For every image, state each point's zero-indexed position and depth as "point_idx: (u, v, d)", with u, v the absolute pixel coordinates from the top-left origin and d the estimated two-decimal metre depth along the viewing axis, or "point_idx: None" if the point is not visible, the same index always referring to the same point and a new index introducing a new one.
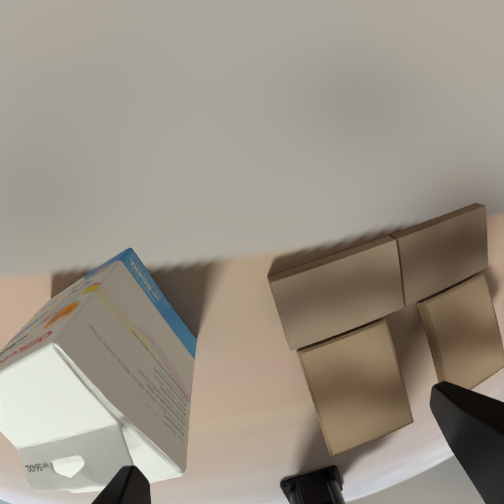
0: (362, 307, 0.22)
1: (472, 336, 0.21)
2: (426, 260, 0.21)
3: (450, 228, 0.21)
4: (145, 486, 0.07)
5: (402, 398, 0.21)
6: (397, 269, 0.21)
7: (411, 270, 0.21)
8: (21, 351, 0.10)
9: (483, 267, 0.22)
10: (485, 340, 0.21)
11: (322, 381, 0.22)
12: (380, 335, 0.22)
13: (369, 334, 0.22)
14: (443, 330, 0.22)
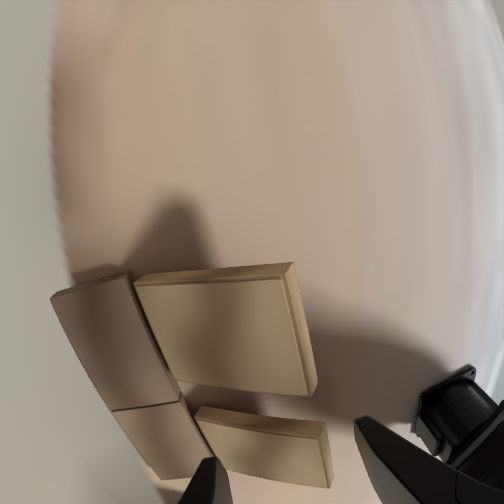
0: (179, 436, 0.21)
1: (217, 336, 0.16)
2: (124, 383, 0.19)
3: (86, 354, 0.18)
4: (226, 478, 0.07)
5: (281, 437, 0.17)
6: (138, 411, 0.20)
7: (137, 398, 0.19)
8: None
9: (124, 287, 0.17)
10: (224, 316, 0.15)
11: (248, 470, 0.21)
12: (208, 425, 0.20)
13: (208, 432, 0.20)
14: (204, 374, 0.18)
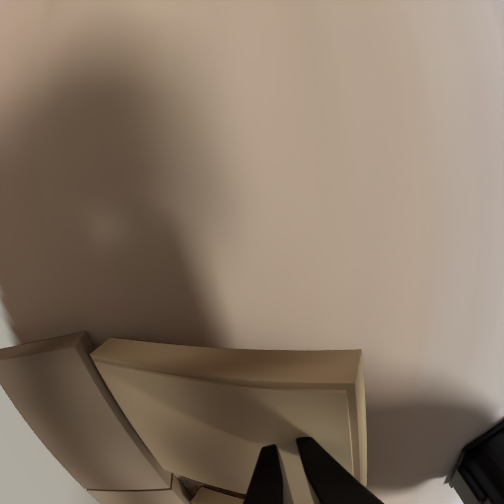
0: None
1: (222, 444, 0.09)
2: (97, 466, 0.12)
3: (43, 432, 0.11)
4: (283, 466, 0.07)
5: None
6: (119, 493, 0.13)
7: (116, 482, 0.12)
8: None
9: (78, 360, 0.10)
10: (234, 427, 0.08)
11: None
12: None
13: None
14: (204, 475, 0.11)
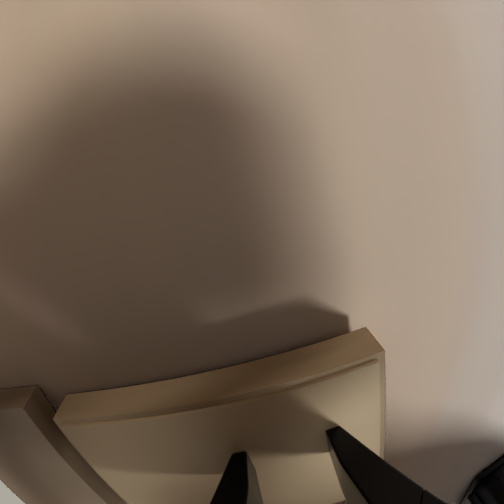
0: None
1: None
2: None
3: (11, 482, 0.08)
4: (254, 472, 0.07)
5: None
6: None
7: None
8: None
9: (29, 421, 0.07)
10: (261, 446, 0.07)
11: None
12: None
13: None
14: None
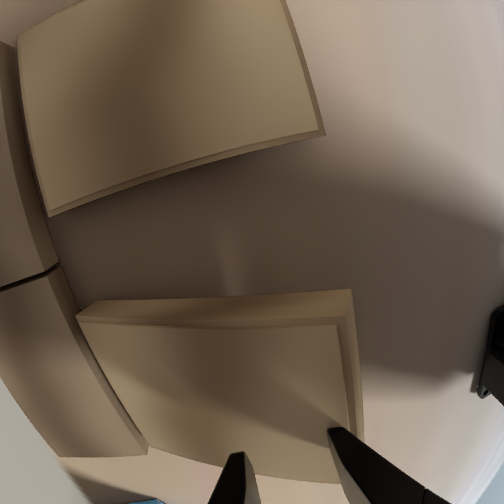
0: (57, 363, 0.10)
1: (148, 55, 0.08)
2: None
3: None
4: (253, 473, 0.07)
5: (238, 339, 0.07)
6: None
7: None
8: None
9: None
10: (169, 11, 0.07)
11: (188, 449, 0.11)
12: (99, 335, 0.10)
13: (103, 355, 0.10)
14: (111, 157, 0.09)
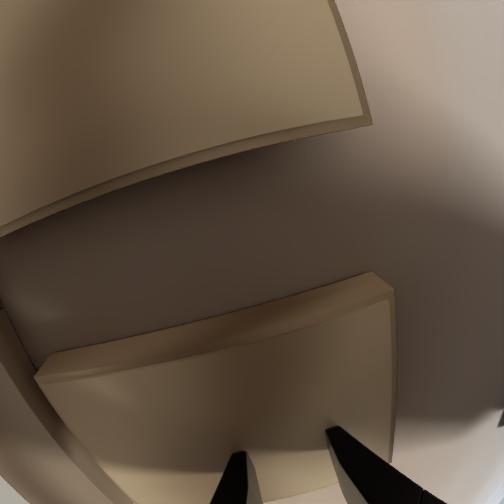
0: (13, 424, 0.07)
1: (99, 8, 0.04)
2: None
3: None
4: (254, 472, 0.07)
5: (292, 344, 0.07)
6: None
7: None
8: None
9: None
10: None
11: (205, 500, 0.08)
12: (75, 396, 0.07)
13: (81, 421, 0.07)
14: (41, 162, 0.05)
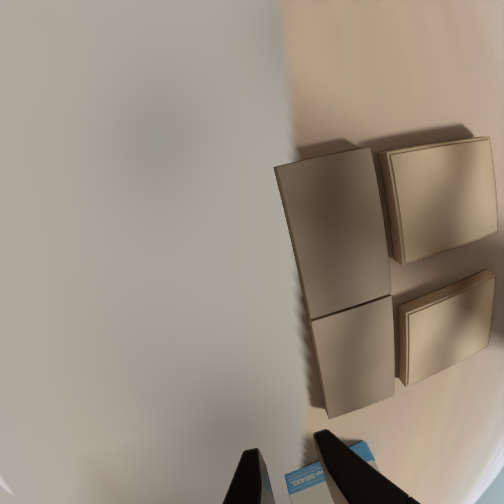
0: (375, 345, 0.20)
1: (453, 192, 0.18)
2: (343, 275, 0.19)
3: (307, 239, 0.18)
4: (266, 470, 0.07)
5: (475, 290, 0.20)
6: (345, 314, 0.19)
7: (350, 296, 0.19)
8: None
9: (369, 157, 0.17)
10: (461, 171, 0.17)
11: (434, 366, 0.21)
12: (418, 317, 0.20)
13: (414, 329, 0.20)
14: (437, 239, 0.18)
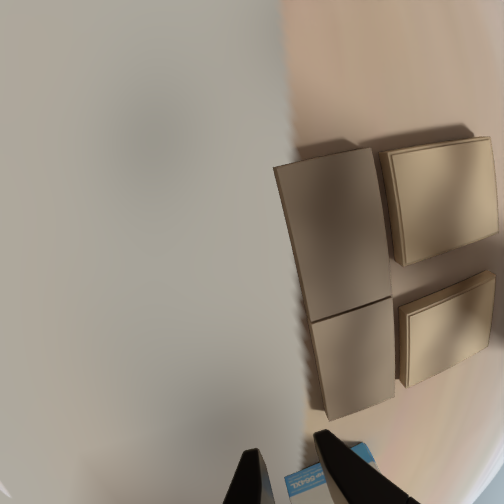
0: (376, 347, 0.20)
1: (454, 193, 0.17)
2: (343, 277, 0.18)
3: (307, 241, 0.17)
4: (266, 470, 0.07)
5: (475, 290, 0.20)
6: (346, 316, 0.19)
7: (351, 298, 0.19)
8: None
9: (370, 157, 0.17)
10: (462, 171, 0.17)
11: (434, 367, 0.21)
12: (418, 319, 0.20)
13: (414, 330, 0.20)
14: (438, 240, 0.18)
